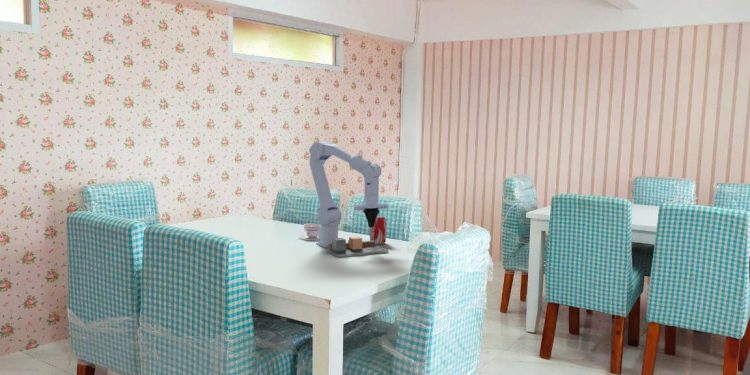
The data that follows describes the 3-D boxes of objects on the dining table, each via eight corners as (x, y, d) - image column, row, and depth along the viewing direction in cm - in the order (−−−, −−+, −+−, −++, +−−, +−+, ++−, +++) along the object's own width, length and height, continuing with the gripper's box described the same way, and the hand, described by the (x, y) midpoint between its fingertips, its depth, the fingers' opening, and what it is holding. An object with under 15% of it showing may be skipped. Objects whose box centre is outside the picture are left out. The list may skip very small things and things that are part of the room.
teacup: (330, 237, 289) (331, 224, 288) (314, 241, 279) (314, 228, 278) (310, 235, 296) (310, 221, 295) (293, 238, 286) (293, 225, 285)
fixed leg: (329, 249, 258) (329, 237, 257) (338, 248, 260) (338, 236, 259) (336, 252, 251) (336, 240, 251) (345, 251, 253) (346, 239, 253)
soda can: (384, 245, 272) (384, 217, 271) (368, 244, 274) (368, 217, 273) (387, 242, 279) (387, 215, 278) (371, 241, 281) (371, 214, 279)
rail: (328, 248, 259) (328, 244, 258) (372, 245, 268) (372, 240, 267) (330, 249, 257) (330, 244, 257) (374, 246, 266) (374, 241, 266)
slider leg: (345, 247, 261) (345, 235, 260) (355, 246, 263) (355, 235, 262) (352, 251, 255) (353, 238, 254) (362, 250, 256) (362, 238, 256)
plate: (326, 251, 258) (326, 249, 258) (374, 247, 268) (374, 244, 268) (338, 257, 248) (338, 254, 247) (388, 252, 257) (388, 250, 257)
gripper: (359, 195, 252) (359, 229, 253) (391, 194, 258) (391, 227, 260) (352, 193, 258) (351, 226, 259) (383, 192, 264) (383, 224, 266)
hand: (371, 226), depth 260 cm, fingers closed
